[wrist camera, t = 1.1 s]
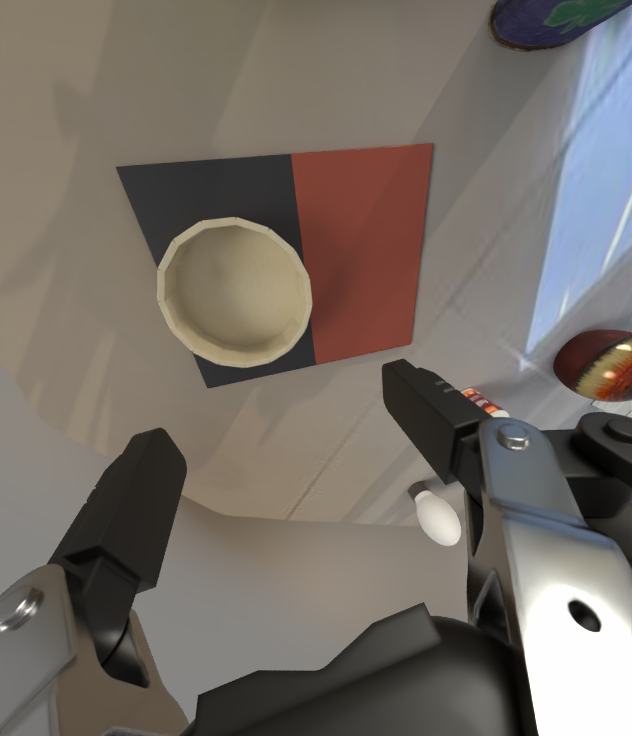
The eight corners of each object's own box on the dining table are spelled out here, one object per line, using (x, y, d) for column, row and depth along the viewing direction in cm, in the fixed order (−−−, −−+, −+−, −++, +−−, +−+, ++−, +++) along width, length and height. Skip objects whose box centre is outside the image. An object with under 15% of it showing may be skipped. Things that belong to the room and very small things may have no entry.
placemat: (207, 386, 28) (207, 388, 28) (117, 167, 18) (115, 166, 18) (409, 343, 32) (410, 344, 32) (430, 144, 22) (433, 143, 22)
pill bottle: (467, 383, 39) (516, 417, 32) (480, 394, 41) (528, 428, 34) (445, 404, 40) (488, 441, 33) (459, 414, 43) (501, 450, 36)
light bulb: (407, 501, 53) (441, 558, 44) (398, 488, 50) (432, 547, 40) (434, 485, 53) (474, 540, 44) (426, 471, 49) (468, 527, 40)
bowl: (199, 357, 26) (191, 379, 22) (148, 229, 20) (124, 229, 16) (308, 336, 28) (318, 352, 24) (292, 212, 22) (302, 209, 18)
